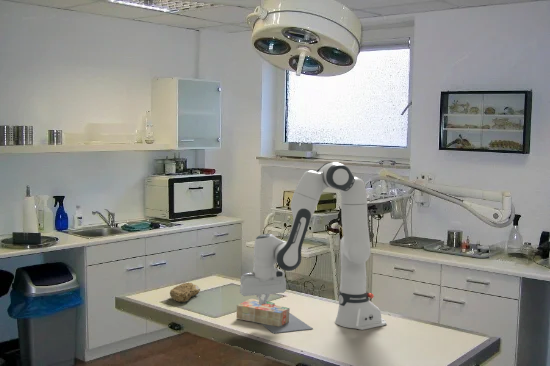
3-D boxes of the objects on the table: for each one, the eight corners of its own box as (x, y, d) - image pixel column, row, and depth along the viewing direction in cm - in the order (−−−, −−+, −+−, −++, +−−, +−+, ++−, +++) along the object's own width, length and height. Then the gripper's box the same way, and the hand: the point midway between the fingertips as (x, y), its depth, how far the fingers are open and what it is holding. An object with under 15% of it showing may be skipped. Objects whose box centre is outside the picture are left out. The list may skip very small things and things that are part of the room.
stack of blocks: (279, 327, 262) (292, 319, 273) (279, 313, 262) (293, 305, 273) (236, 318, 272) (250, 311, 283) (236, 304, 272) (250, 298, 283)
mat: (286, 311, 286) (286, 310, 286) (312, 329, 263) (312, 328, 263) (250, 315, 279) (250, 314, 279) (273, 333, 255) (273, 332, 255)
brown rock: (183, 295, 314) (158, 295, 296) (187, 280, 314) (163, 279, 296) (203, 304, 307) (180, 305, 290) (208, 289, 307) (185, 289, 290)
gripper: (243, 275, 257) (242, 308, 258) (288, 272, 265) (287, 304, 267) (237, 272, 263) (237, 304, 264) (282, 269, 271) (281, 300, 272)
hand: (262, 304), depth 265 cm, fingers closed
